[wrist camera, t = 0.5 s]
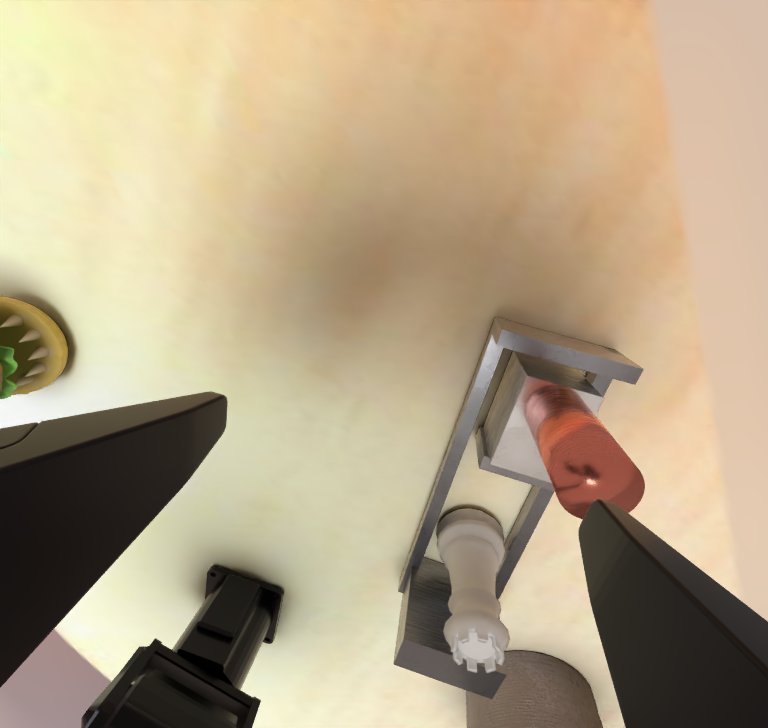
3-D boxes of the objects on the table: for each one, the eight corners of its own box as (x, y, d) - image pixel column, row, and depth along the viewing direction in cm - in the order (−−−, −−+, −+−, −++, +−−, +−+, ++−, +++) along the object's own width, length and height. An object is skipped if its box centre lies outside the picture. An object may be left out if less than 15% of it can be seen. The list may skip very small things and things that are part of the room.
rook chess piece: (451, 562, 26) (452, 691, 19) (425, 513, 25) (415, 630, 18) (513, 548, 25) (540, 681, 17) (488, 496, 24) (505, 614, 16)
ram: (539, 455, 22) (599, 602, 13) (475, 435, 23) (491, 566, 14) (580, 369, 20) (683, 475, 11) (508, 348, 20) (553, 436, 12)
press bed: (485, 608, 27) (494, 705, 21) (399, 579, 28) (387, 666, 22) (616, 350, 20) (682, 395, 14) (495, 316, 20) (512, 348, 15)
